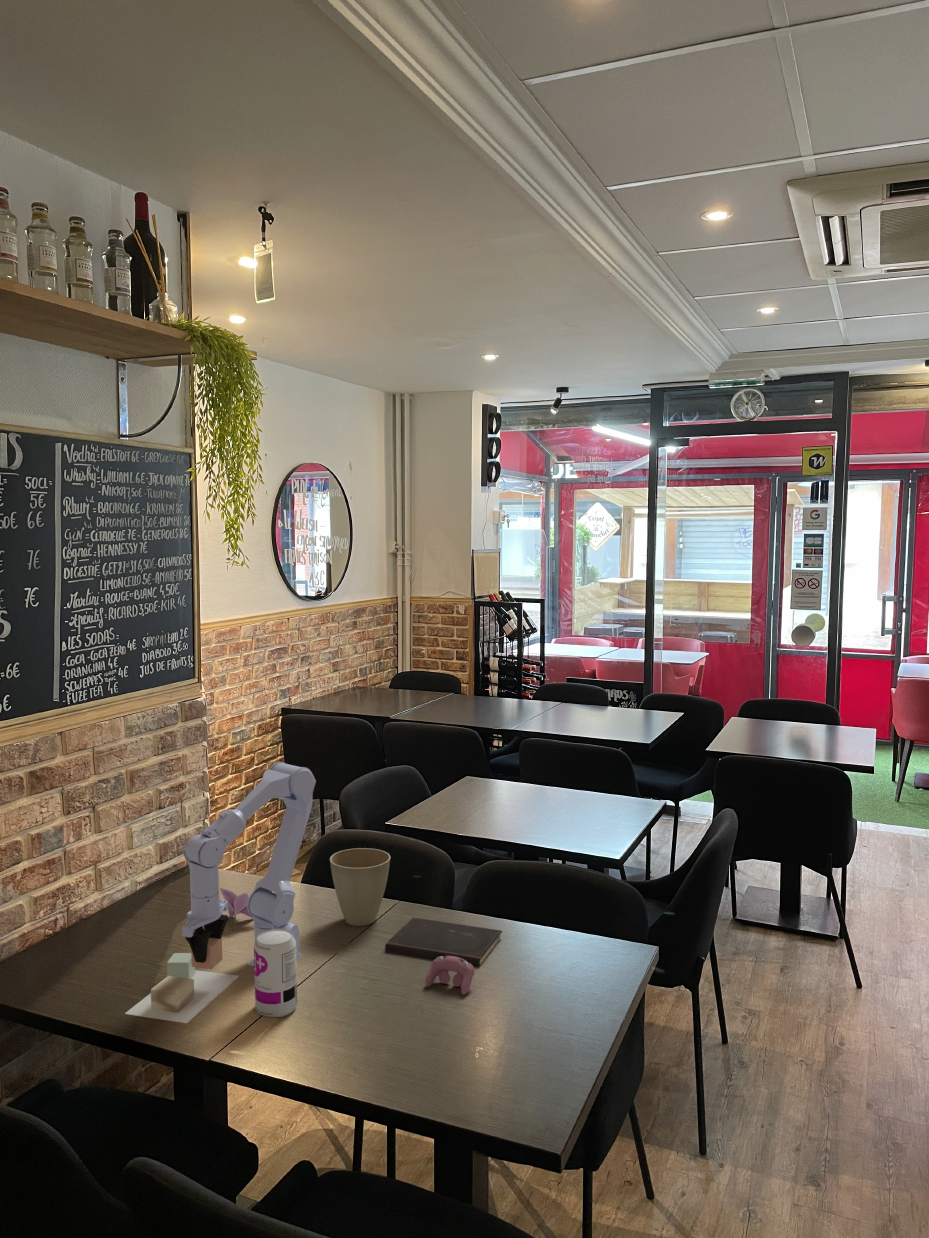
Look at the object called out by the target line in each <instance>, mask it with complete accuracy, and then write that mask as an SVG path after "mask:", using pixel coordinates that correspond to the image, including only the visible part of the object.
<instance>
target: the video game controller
mask: <svg viewBox="0 0 929 1238" xmlns="http://www.w3.org/2000/svg"><path fill="white" fill-rule="evenodd" d="M429 966H430V967H429V969H428V972H427V974H426V976H425V981H424V984H425V986H426V988H429V987H431V986H432V985H433V984H434V982H435V981H436V979H437V976H438V979H439V982H440V983H441V984H443V985H444V984H450V981H451V978H452V977H451V974H450V972H454V973H455V974H454V976H453V978H452V984H453V985H454V986H455V987H457V988H460V993H461V995H462V996H465V995H466V994H467V993H468V992H469V990H470V989H471V988H470V987H471V984H472V981H473V977H474V975H475V972H476V971H475V966H472V965H471V964H470V963H468V962H467V961H465V960H464V959H462V958H459V957H455V956H440V957H437V958H436V959H433V961H432V962H431V964H430V965H429ZM449 971H450V972H449Z"/></svg>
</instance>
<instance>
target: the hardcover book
mask: <svg viewBox="0 0 929 1238" xmlns="http://www.w3.org/2000/svg"><path fill="white" fill-rule="evenodd" d="M502 933H503V930H500V929H493V928H487V927H481V926H474V925H466V924H460V923H452V922H447V921H440V920H433V919H426V918H420V917H411V919H410V920H409V921H408V922H406V924H404V925H403V926H402V927H401V928H400V929H399V930H398V931H397V932H396V933H395V934H394V935H393V936H392V937H391V938H389V940H388V941H386V943H385V945H384V947H385V948H384V950H385V952H386V953H388V952H389V953H392V954H393V953H394V954H398V955H406V956H413V957H417V958H424V959H430V960H435V959H436V958H437V957H440V956H455V957H459V958H462V959H464V960H465V961H467V962H468V963H470V964H471V965H472V966H473V967H477V968H480V967H481V964H482V963H483V962H484V960H486V958H487V957H488V955H489V954H490V953H491V951H492V950H493V949H494V948H495V946H496V945H497V943H499V941H500V939H501V934H502Z"/></svg>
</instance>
